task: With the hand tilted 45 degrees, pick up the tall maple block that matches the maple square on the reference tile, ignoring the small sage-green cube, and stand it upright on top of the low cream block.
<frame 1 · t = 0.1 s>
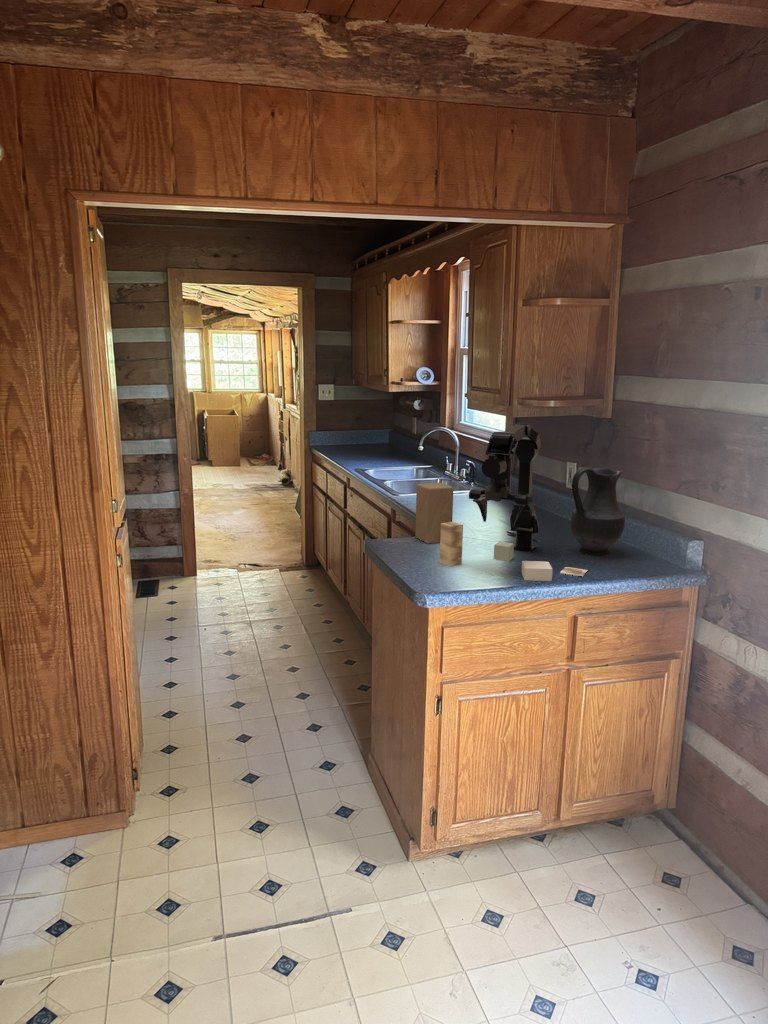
hand: (498, 523, 221), 15 cm above the counter, tool pointing down, fingers open, 9 cm apart
sage cube: (503, 558, 236), on the counter
cream base block: (536, 577, 217), on the counter
wooden block: (433, 540, 259), on the counter
maple block: (450, 563, 230), on the counter
reference tile: (573, 572, 222), on the counter
pitcher: (590, 554, 243), on the counter
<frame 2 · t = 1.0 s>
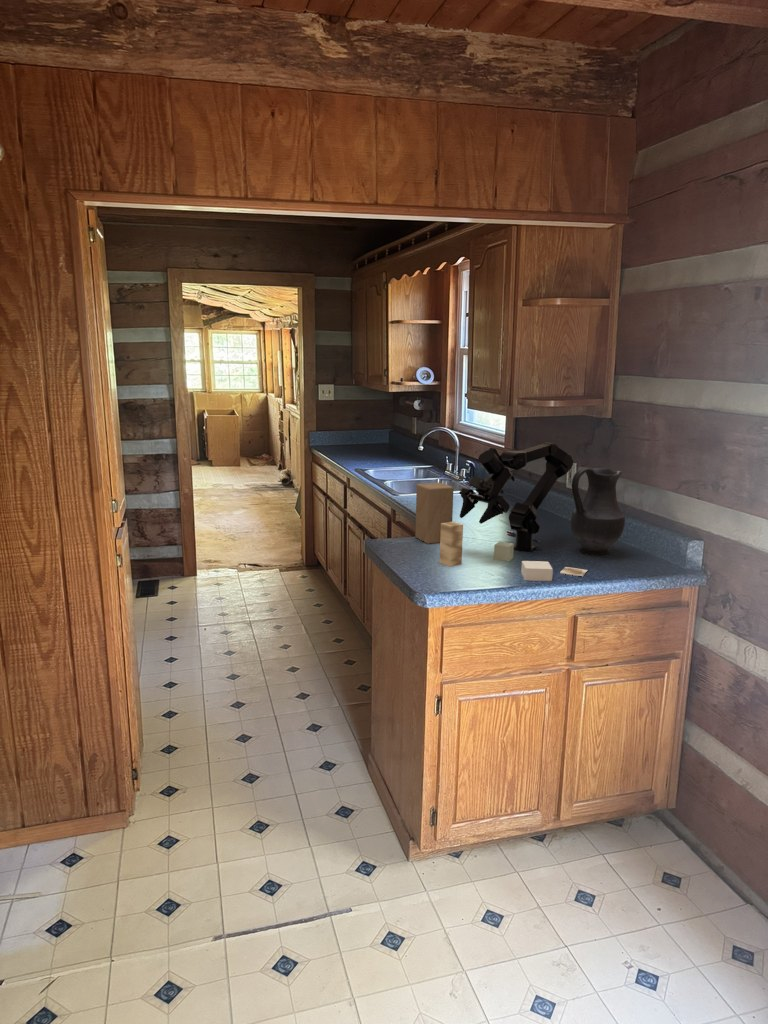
hand: (470, 520, 231), 13 cm above the counter, tool tilted 45°, fingers open, 9 cm apart
nothing on the counter moved.
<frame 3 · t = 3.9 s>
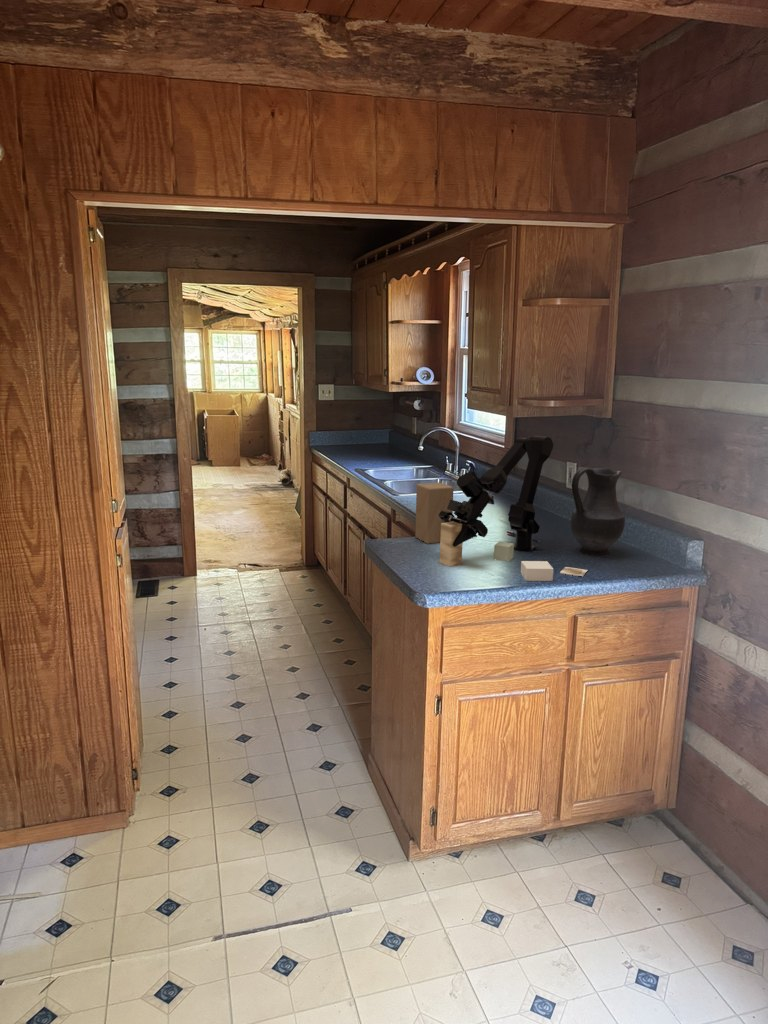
hand: (447, 543, 227), 7 cm above the counter, tool tilted 45°, fingers closed on maple block, 5 cm apart
maple block: (450, 563, 230), on the counter, touching gripper
everything else where it was.
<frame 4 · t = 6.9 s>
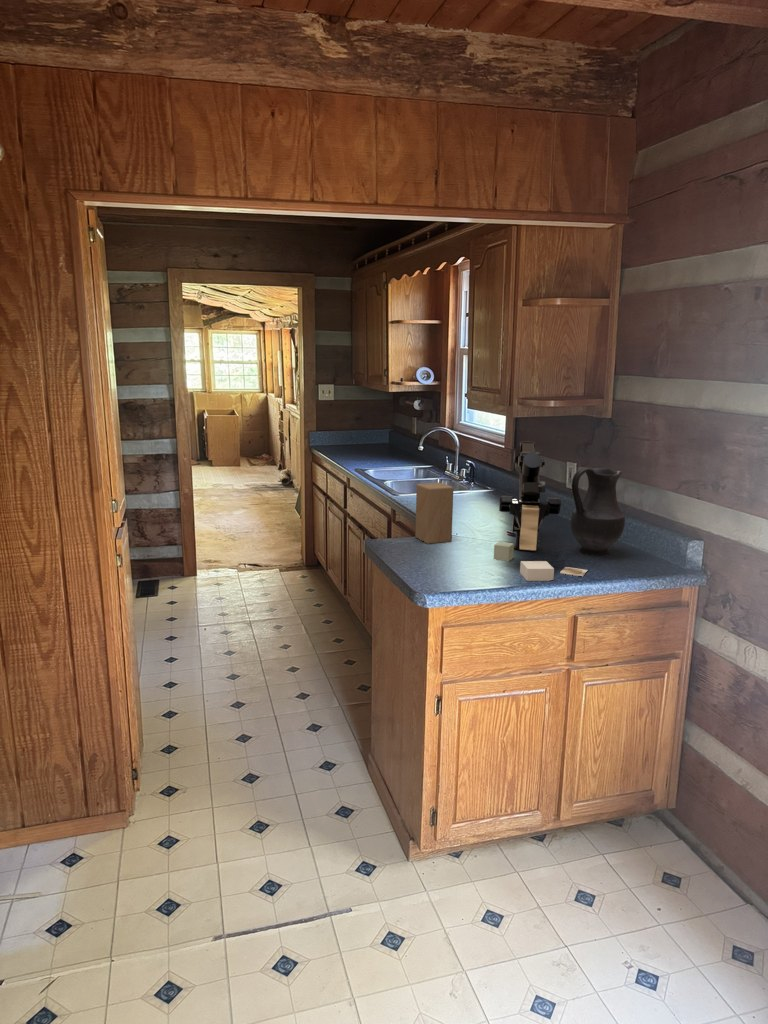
hand: (529, 527, 221), 13 cm above the counter, tool tilted 45°, fingers closed on maple block, 5 cm apart
maple block: (527, 547, 224), point 7 cm above the counter, touching gripper
everything else where it was.
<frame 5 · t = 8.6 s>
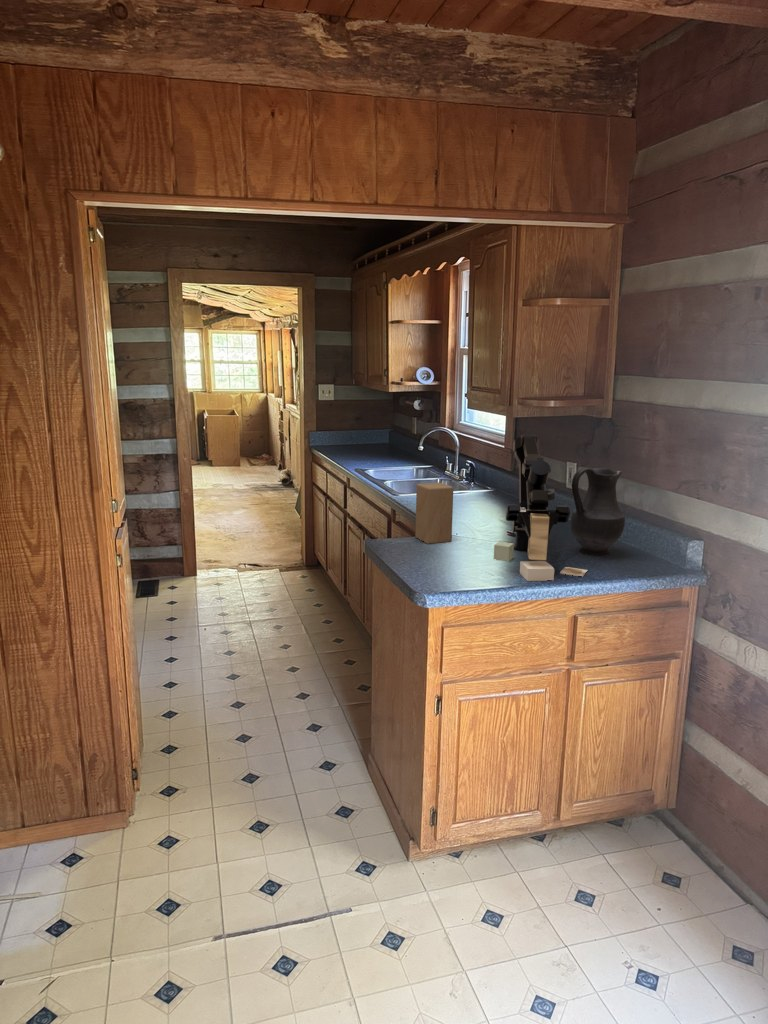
hand: (538, 537, 214), 12 cm above the counter, tool tilted 45°, fingers closed on maple block, 5 cm apart
maple block: (536, 557, 217), point 6 cm above the counter, touching gripper
everything else where it was.
when the fingers open (12 cm above the counter, at t = 9.7 s): maple block drops 1 cm, point 4 cm above the counter.
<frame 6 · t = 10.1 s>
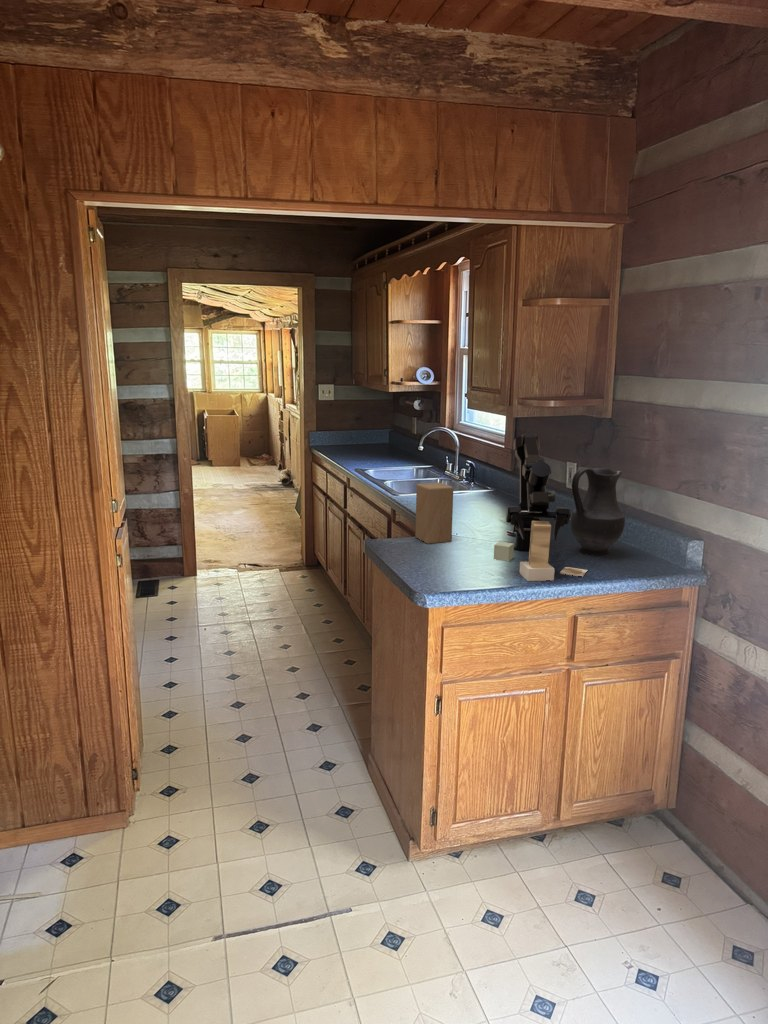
hand: (539, 539, 213), 12 cm above the counter, tool tilted 45°, fingers open, 9 cm apart
maple block: (537, 564, 216), point 4 cm above the counter
everything else where it was.
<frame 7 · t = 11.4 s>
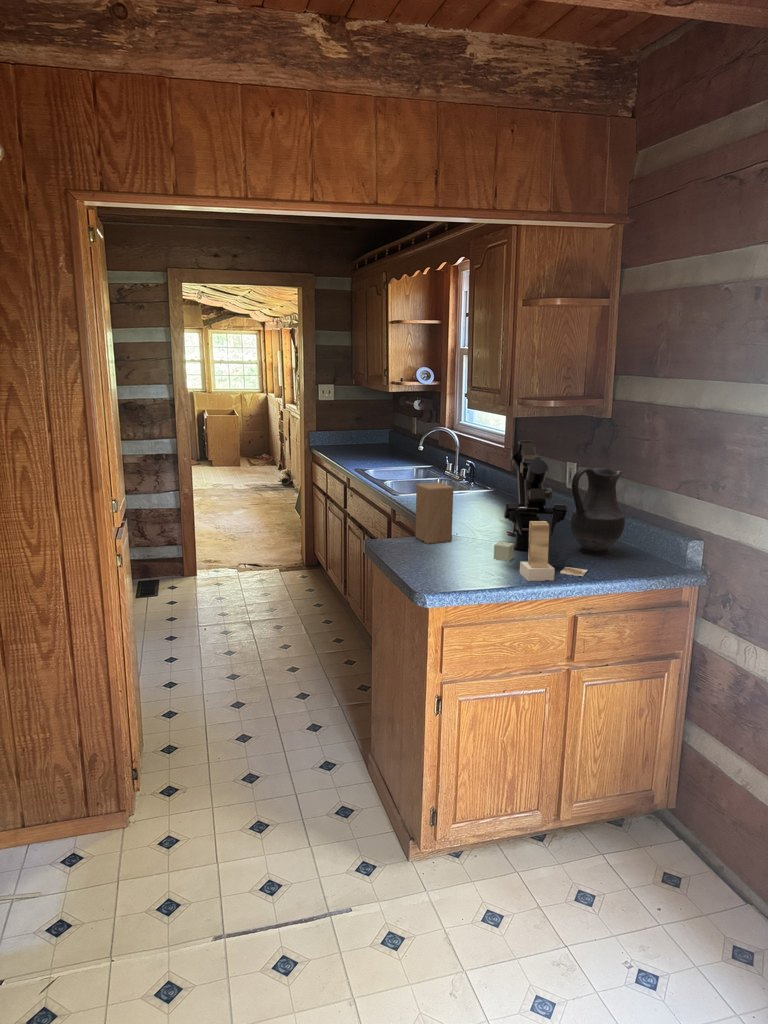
hand: (536, 534, 220), 12 cm above the counter, tool tilted 45°, fingers open, 9 cm apart
cream base block: (536, 577, 217), on the counter, touching maple block
maple block: (537, 565, 216), point 4 cm above the counter, touching cream base block
everything else where it was.
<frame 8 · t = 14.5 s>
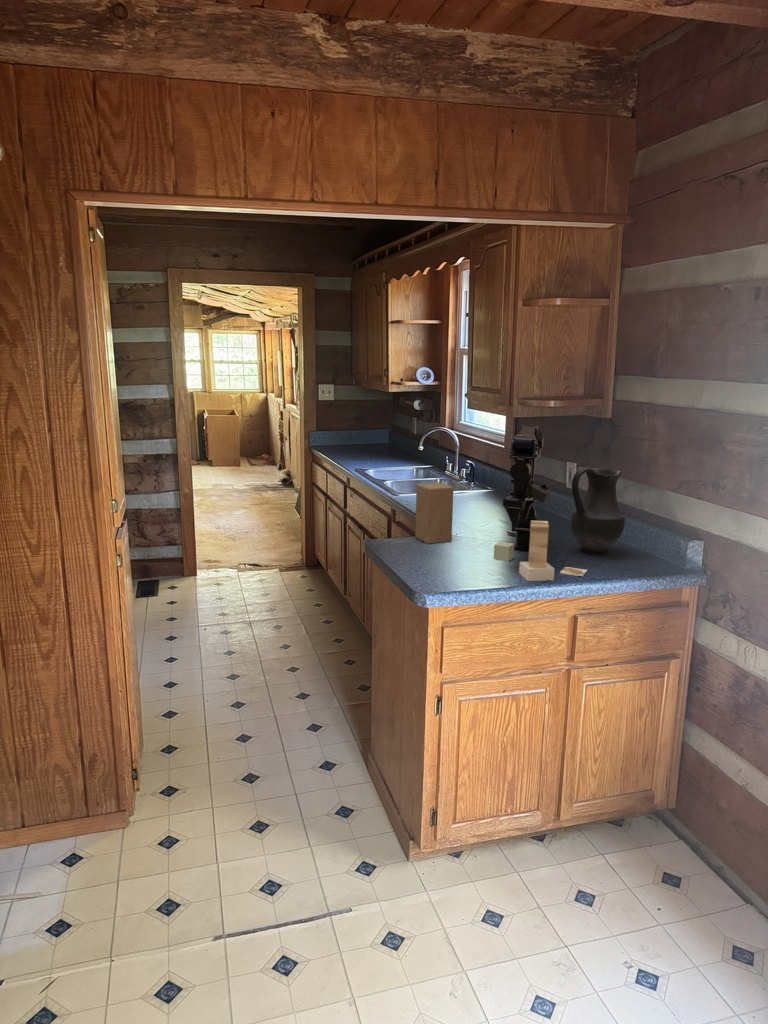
hand: (519, 524, 227), 13 cm above the counter, tool pointing down, fingers open, 9 cm apart
cream base block: (536, 577, 217), on the counter
maple block: (537, 564, 216), point 4 cm above the counter, tilted 6°
everything else where it was.
at the end: maple block 0.1 cm off-centre on the cream base block, point 4.1 cm above the cream base block's base; maple block tilted 3°; the gripper is holding nothing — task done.
